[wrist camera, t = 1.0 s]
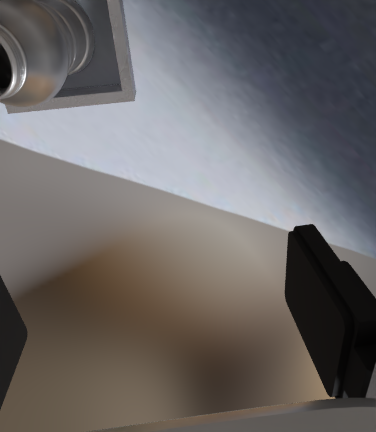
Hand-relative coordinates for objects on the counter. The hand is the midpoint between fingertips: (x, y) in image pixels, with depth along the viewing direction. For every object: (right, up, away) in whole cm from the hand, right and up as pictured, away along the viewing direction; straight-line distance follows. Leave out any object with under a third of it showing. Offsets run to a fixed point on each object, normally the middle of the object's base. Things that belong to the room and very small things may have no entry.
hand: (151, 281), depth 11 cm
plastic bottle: (-11, +20, +23) cm, 32 cm away
